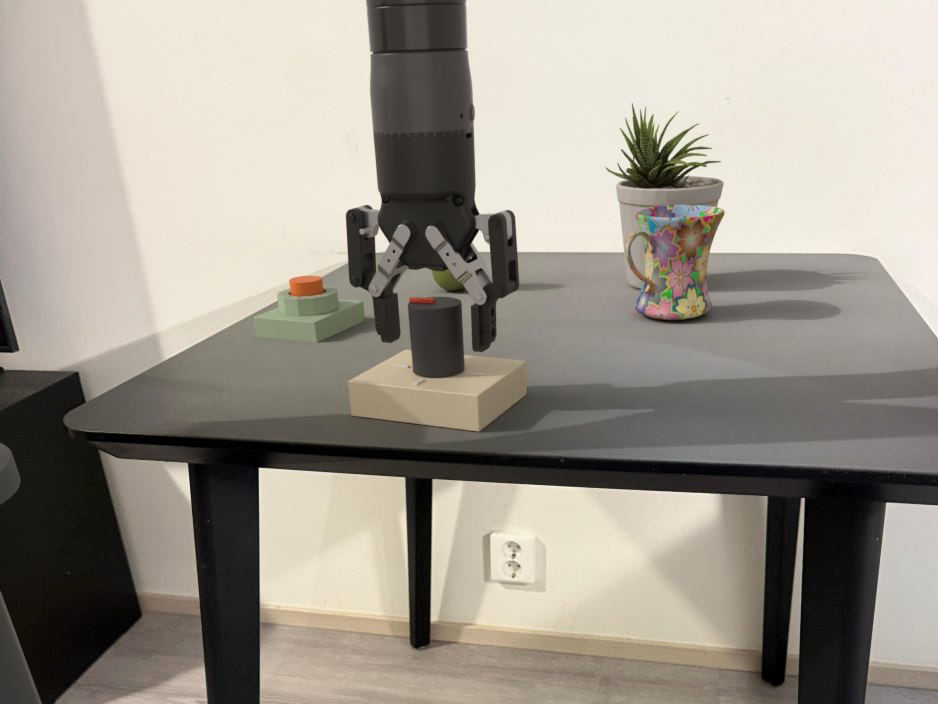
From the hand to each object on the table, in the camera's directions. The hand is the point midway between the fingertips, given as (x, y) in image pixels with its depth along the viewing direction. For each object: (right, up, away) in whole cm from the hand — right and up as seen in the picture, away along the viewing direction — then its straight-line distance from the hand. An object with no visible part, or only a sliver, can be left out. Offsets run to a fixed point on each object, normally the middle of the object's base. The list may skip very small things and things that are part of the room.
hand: (435, 345), depth 77 cm
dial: (0, -2, +1) cm, 2 cm away
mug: (+24, +11, +25) cm, 37 cm away
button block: (-15, +10, +27) cm, 32 cm away
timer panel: (0, -4, +3) cm, 5 cm away
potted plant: (+26, +20, +39) cm, 52 cm away
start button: (-15, +13, +25) cm, 32 cm away
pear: (0, +20, +41) cm, 45 cm away
